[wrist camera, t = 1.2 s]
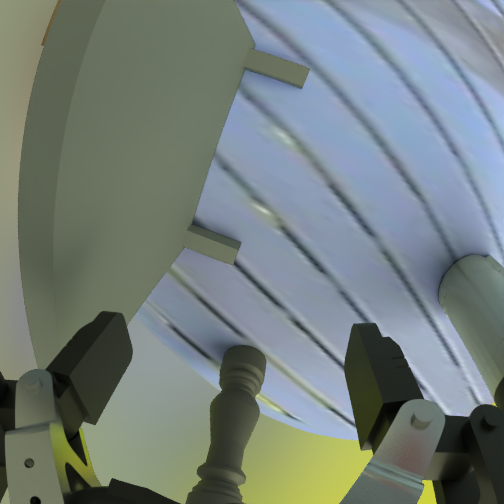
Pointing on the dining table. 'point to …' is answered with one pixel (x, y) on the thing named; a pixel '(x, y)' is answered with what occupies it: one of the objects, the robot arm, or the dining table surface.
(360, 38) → the dining table surface
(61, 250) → the wall board
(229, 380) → the candle holder
